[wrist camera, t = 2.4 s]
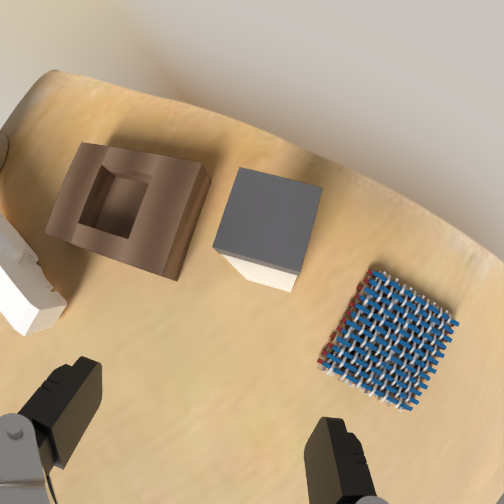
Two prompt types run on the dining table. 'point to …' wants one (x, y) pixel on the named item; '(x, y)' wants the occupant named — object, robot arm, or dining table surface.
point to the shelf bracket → (25, 285)
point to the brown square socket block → (130, 206)
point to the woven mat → (378, 340)
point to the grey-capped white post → (267, 227)
